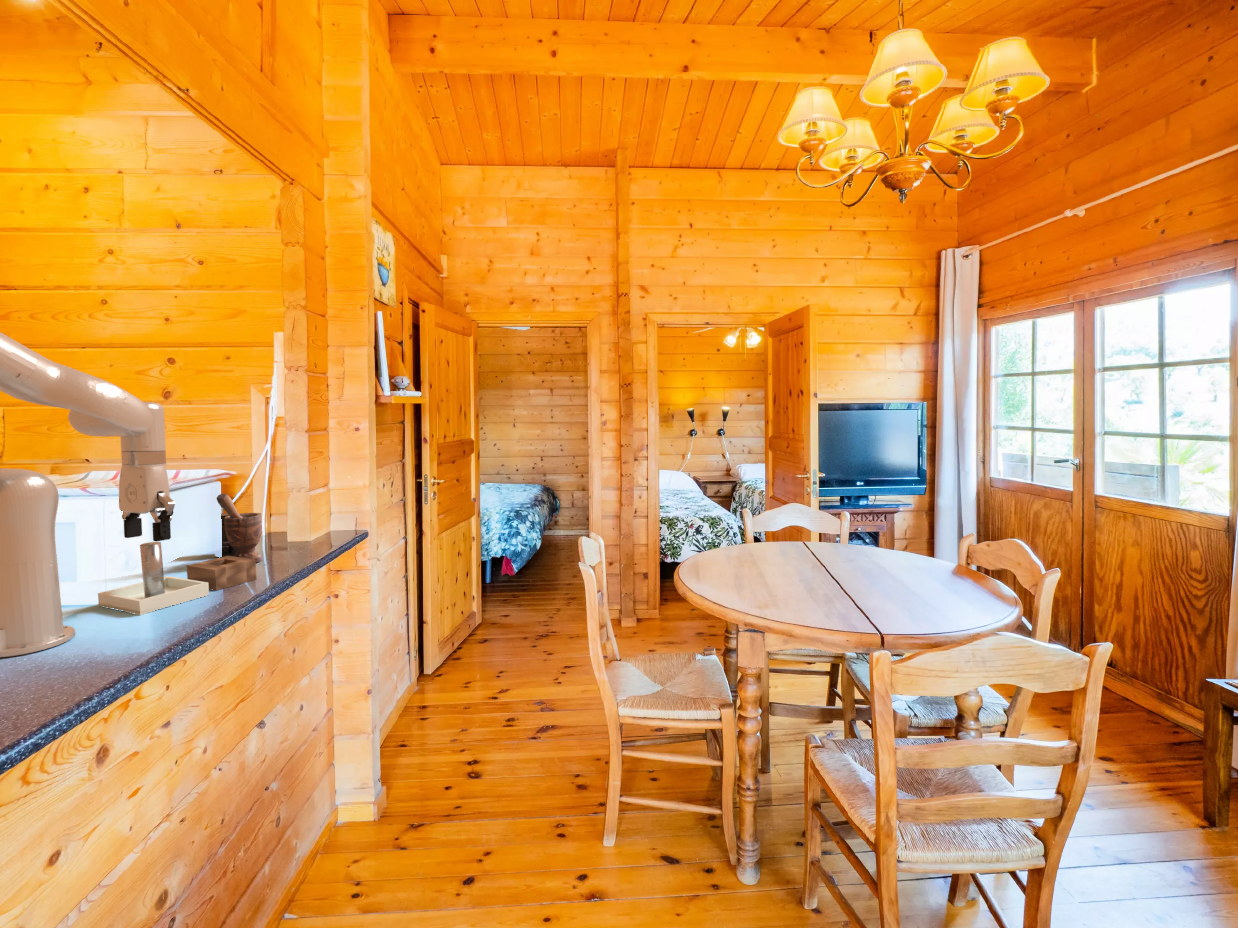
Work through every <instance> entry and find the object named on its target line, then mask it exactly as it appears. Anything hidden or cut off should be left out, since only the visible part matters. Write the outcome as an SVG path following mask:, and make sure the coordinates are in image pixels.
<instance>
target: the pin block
mask: <svg viewBox="0 0 1238 928" xmlns="http://www.w3.org/2000/svg"><path fill="white" fill-rule="evenodd" d="M186 576H187V577H186V579H189V580H196V581H202V582H208V585H209V589H213V590H212V591H215V590H217V591H220V590H219V589H221V590H223V588H224V589H227V587H228V588H231V587H234V586H238V585H241V584H244V583H248V582H252V581H255V580H257V565H256V561H255V559H248V558H241V557H233V556H225V557H220V558H218V557H215V558H213V559H208V560H203V561H199V562H195V563H192V564H187V565H186Z"/></svg>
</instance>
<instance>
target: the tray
mask: <svg viewBox="0 0 1238 928" xmlns="http://www.w3.org/2000/svg"><path fill="white" fill-rule="evenodd" d="M164 585H165V593H164V594H160V595H156V596H152V597H149V598H145V596H144V585H143V581H142V582H139V583H135V584H129V585H126V586H122V587H118V588H114V589H109V590H105V591H102V592H101V591H100V592H98V593H97V599H98V607H99V606H104V607H108V608H114V609H118V610H123V611H126V612H131V613H135V614H134V615H136V614H139V615H138V616H143V615H146V614H145V613H147V614H149V613H148V612H150V613H153V612H152V611H154V612H156V611H155V610H157V611H159V610H158V609H161V608H164V609H166V608H165V607H168V606H171V607H173V606H172V605H175V606H177V605H176V604H178V605H181V604H180V603H182V604H184V603H183V602H185V603H187V602H186V601H188V602H190V601H189V600H192V601H194V600H193V599H195V600H197V599H196V598H199V599H201V598H200V597H202V598H205V597H204V596H206V597H208V596H207V595H209V596H210V590H209V585H208V582H202V581H196V580H189V579H187V578H182V577H176V576H171V575H168V576H167V575H166V576H164ZM168 608H169V607H168ZM161 610H162V609H161ZM126 612H125V613H126ZM131 613H130V614H131ZM142 614H143V615H142Z"/></svg>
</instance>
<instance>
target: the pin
mask: <svg viewBox="0 0 1238 928" xmlns="http://www.w3.org/2000/svg"><path fill="white" fill-rule="evenodd" d="M139 549H140V561H141V572H142V582H143V585H144V596H145V598H149V597H152V596H156V595H160V594H164V593H165V585H164V577H165V574H164V565H163V564H164V562H163V551H162V541H152V542H144V543H141V544H140V545H139Z"/></svg>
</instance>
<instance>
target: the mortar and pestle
mask: <svg viewBox="0 0 1238 928" xmlns="http://www.w3.org/2000/svg"><path fill="white" fill-rule="evenodd" d="M216 501H217V503H218V504H219V506H220V508H222V509H223V510H224V511H225V513H228V515H229V516H226V517H225V518H224V520H225V523H224V524H225V532H226V536H227V539H228V541H229V544H230V545H231V546H232V547H234V548H235V549H236V554H235V555H234V556H233V557H241V558H248V559H255V561H256V563H260V562H262V561H263V556H262V554H261V553H259V552H258V551H256V547H257V545H259V544H260V542H261V539H262V538H261V537H262V533H263V524H262V523H263V521H262V513H261V512H244V513H242V512H241V513H240V512H238V509H237V508H236V506H235V504H234V502H233V500H232V498H231V497H230V495H228V494H226V493H219V495H217V497H216Z"/></svg>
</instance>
